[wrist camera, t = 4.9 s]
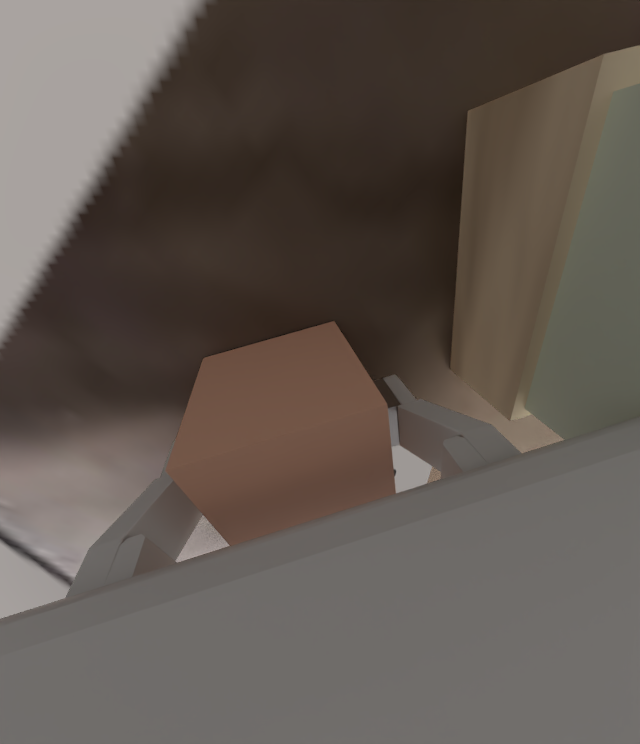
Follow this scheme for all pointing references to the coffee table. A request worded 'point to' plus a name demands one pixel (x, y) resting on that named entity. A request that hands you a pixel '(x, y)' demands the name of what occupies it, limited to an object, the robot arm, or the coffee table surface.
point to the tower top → (598, 293)
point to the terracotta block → (282, 435)
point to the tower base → (524, 219)
